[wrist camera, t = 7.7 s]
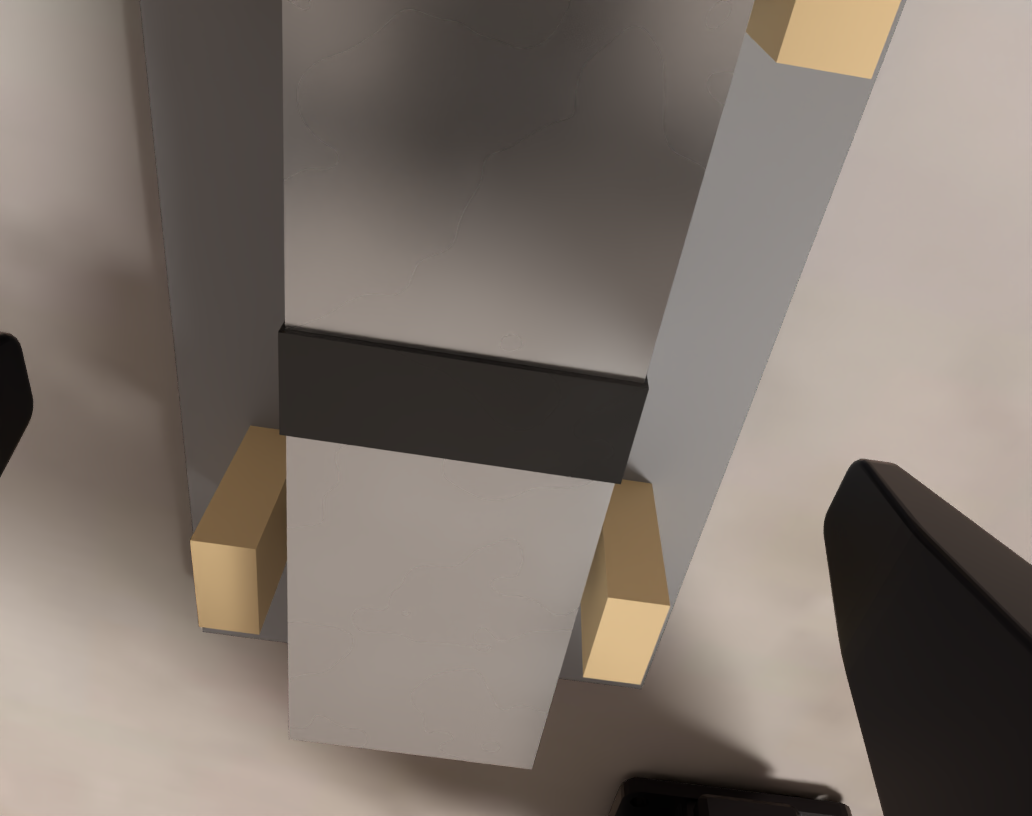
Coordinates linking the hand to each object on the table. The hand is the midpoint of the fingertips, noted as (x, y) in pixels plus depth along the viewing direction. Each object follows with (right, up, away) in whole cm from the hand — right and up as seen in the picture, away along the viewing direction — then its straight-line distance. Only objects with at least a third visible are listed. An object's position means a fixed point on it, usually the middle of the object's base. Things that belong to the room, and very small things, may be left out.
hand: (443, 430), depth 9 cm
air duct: (0, +3, +4) cm, 5 cm away
